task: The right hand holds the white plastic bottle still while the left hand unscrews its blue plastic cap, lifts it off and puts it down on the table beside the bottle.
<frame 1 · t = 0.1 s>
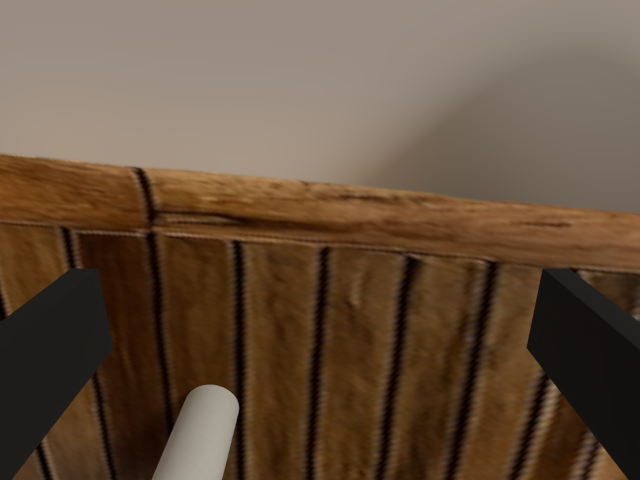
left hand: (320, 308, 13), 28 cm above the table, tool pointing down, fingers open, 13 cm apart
bottle: (212, 406, 49), on the table
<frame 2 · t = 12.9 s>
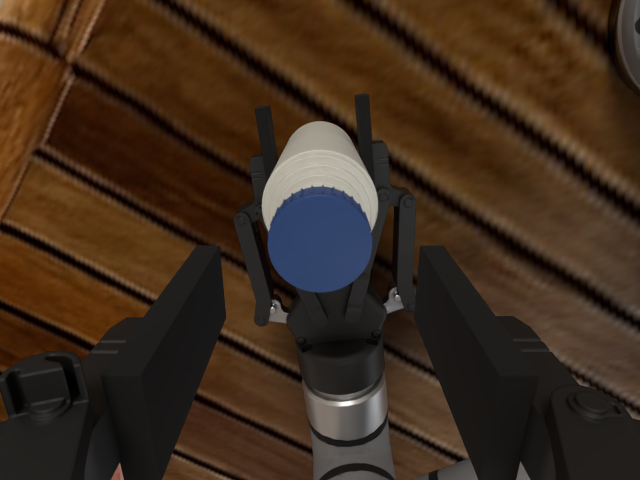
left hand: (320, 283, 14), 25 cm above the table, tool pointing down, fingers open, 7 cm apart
right hand: (311, 101, 30), fingers closed on bottle, 6 cm apart
bottle: (320, 157, 38), on the table, touching right hand
cap: (320, 243, 18), point 21 cm above the table, screwed on, not yet turned
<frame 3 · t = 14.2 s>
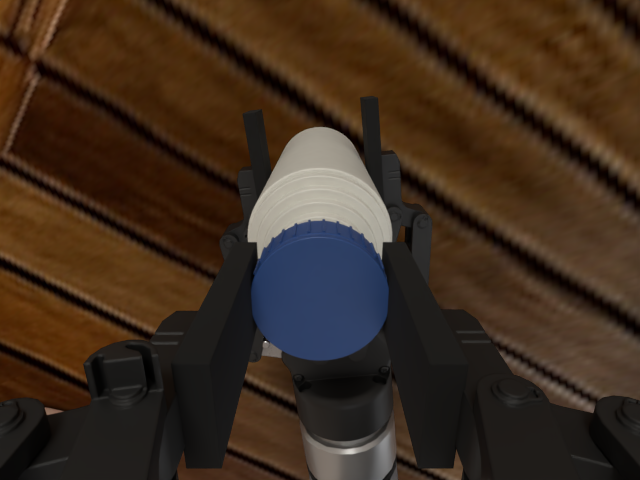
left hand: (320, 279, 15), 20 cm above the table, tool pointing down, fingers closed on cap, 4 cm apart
right hand: (310, 105, 25), fingers closed on bottle, 6 cm apart
bottle: (320, 168, 33), on the table, touching right hand
cap: (319, 298, 13), point 21 cm above the table, screwed on, not yet turned, touching left hand
when the left hand's fingers open (1 cm above the table, at t = 30.6 s): cap drops 1 cm, point 1 cm above the table.
when the right hand's fingers open (7 cm above the table, at t = 31.8 s): bottle stays where it is, on the table.
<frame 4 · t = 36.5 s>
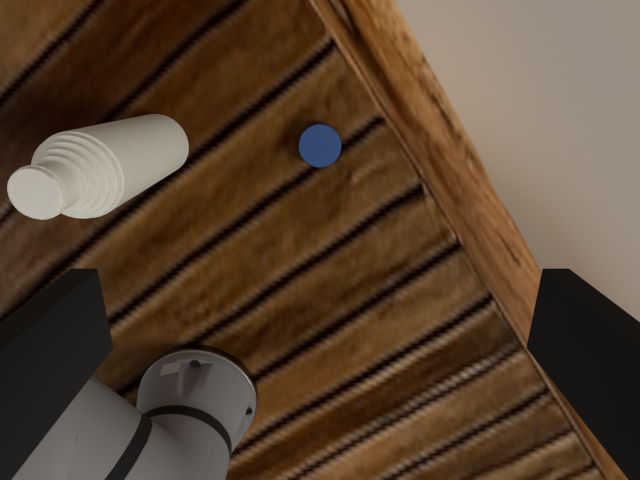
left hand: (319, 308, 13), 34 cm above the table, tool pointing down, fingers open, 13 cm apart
bottle: (159, 144, 45), on the table
cap: (319, 145, 44), point 1 cm above the table, off its thread
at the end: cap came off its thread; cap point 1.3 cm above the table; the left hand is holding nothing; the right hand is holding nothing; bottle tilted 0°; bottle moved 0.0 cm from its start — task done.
